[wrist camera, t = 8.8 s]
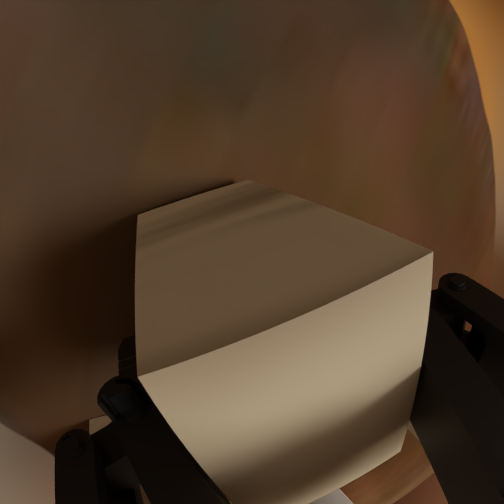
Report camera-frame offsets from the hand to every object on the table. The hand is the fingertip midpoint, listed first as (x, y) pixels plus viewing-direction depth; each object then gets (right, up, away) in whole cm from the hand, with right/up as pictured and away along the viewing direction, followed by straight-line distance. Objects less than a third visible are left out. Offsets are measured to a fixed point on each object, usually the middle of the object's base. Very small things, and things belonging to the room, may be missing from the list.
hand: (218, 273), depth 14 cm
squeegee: (+1, -5, +3) cm, 6 cm away
